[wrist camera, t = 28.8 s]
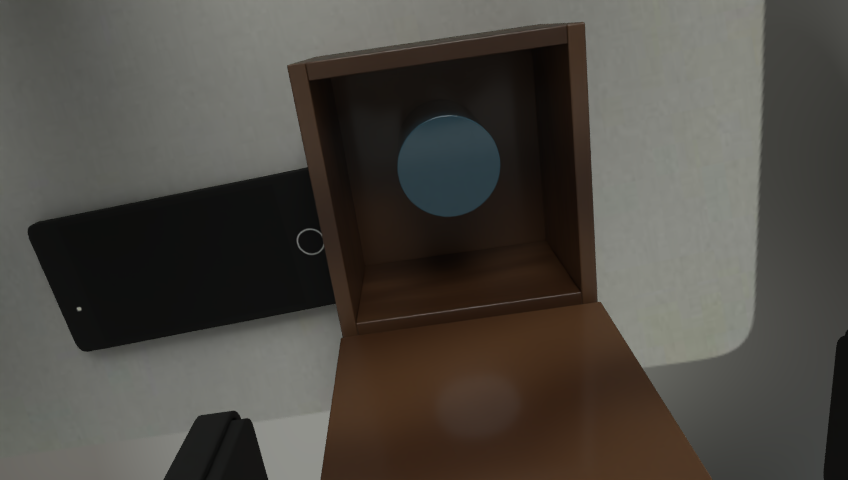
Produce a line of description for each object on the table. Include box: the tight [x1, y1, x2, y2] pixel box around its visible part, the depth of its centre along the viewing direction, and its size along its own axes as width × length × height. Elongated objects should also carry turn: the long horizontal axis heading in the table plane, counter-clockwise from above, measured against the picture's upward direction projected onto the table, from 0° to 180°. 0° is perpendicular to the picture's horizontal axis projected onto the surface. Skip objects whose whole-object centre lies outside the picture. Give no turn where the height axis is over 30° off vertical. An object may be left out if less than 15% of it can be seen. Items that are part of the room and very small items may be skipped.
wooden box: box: [287, 22, 597, 338], centre depth 32 cm, size 14×13×9 cm
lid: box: [321, 302, 712, 480], centre depth 24 cm, size 14×13×5 cm
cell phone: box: [28, 167, 336, 352], centre depth 38 cm, size 9×18×1 cm, turn 101°
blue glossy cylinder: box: [397, 99, 501, 217], centre depth 32 cm, size 5×5×7 cm
